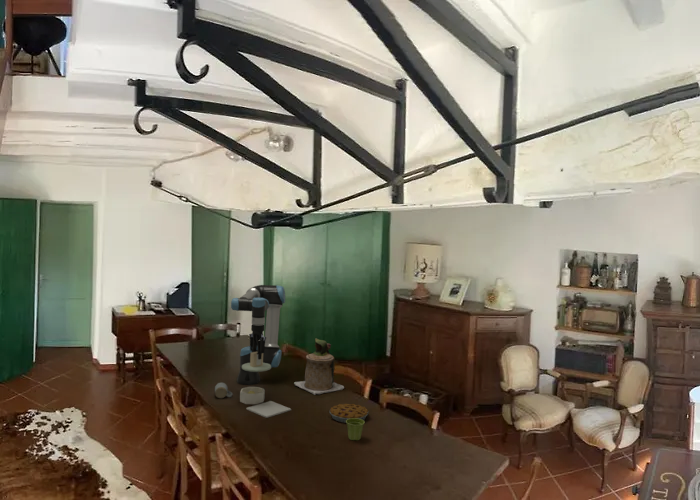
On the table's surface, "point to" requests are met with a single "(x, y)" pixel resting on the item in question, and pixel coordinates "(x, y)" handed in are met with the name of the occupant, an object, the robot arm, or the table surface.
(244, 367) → the lid
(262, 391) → the bowl
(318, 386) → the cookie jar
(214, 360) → the table surface
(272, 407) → the mat
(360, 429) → the plant pot
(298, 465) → the table surface
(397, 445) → the table surface
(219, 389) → the ceramic mug
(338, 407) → the pie
